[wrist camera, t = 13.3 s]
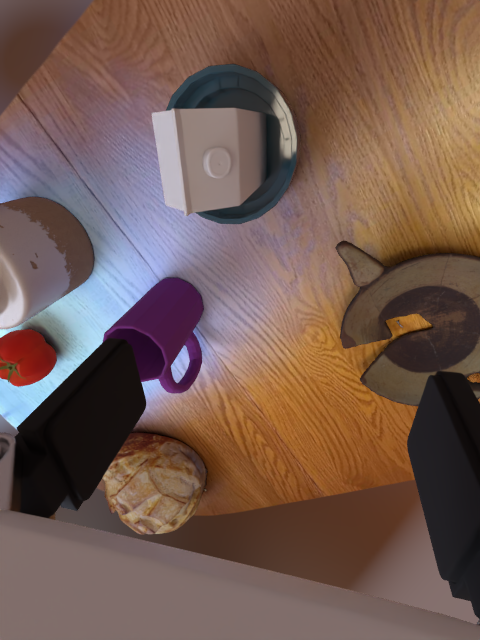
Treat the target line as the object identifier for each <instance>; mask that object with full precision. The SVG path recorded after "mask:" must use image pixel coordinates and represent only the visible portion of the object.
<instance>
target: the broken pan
mask: <svg viewBox="0 0 480 640" xmlns="http://www.w3.org/2000/svg"><path fill="white" fill-rule="evenodd" d="M336 250H337V252H338V254H339V256H340V257H341V258H342V259H343V260H344V262H345V263H346V265H347V267H348V269H349V271H350V275H351V277H352V279H353V282H354V284H355V285H356V286H358V287H360V290H359V292H358V293H357V294H356V296H355V297H354V298H353V300H352V301H351V303H350V304H349V306H348V308H347V310H346V312H345V315H344V318H343V321H342V326H341V334H340V338H341V341H342V346H343V348H345V349H346V348H351V347H354V346H358V345H361V344H368V343H371V342H376V341H380V340H386V339H390V338H391V337H392V333H391V331H390V329H389V327H388V326H387V323H386V322H385V321H386V320H388V319H391V318H395V317H399V316H407V315H410V314H416V313H417V314H420V315H421V316H422V317H423V318H424V319H425V320H426V321H428V322H429V323H431V324H432V325H433V328H432V329H429V330H423V331H418V332H413V333H410V334H405V335H404V336H401V337H400V338H397V339H395V340H394V341H393V342H392V343H390V344H389V345H388V346H387V347H386V348H385V349H384V351H382V352H381V353H380V354H379V355H378V356H377V358H376V359H375V360H374V361H373V362H372V363H371V364H370V366H369V367H368V368H367V369H366V371H365V372H364V373H363V375H362V376H361V378H360V381H361V382H362V384H364V385H365V386H367V387H368V388H369V389H370V390H371V391H373V392H375V393H376V394H377V395H380V396H383V397H385V398H387V399H389V400H391V401H394V402H397V403H402V404H406V405H413V406H419V403H420V400H421V397H422V394H423V391H424V388H425V385H426V382H427V379H428V377H429V376H430V375H435V374H436V373H437V371H447V372H457V373H462V374H463V375H464V376H465V378H466V379H467V377H468V376H470V375H471V374H474V373H480V257H477V256H473V255H467V254H457V253H436V254H428V255H422V256H418V257H414V258H411V259H408V260H405V261H402V262H400V263H398V264H396V265H394V266H392V267H387V266H384V265H383V264H382V263H381V262H379V261H378V260H377V259H375V258H373V257H372V256H370V255H369V254H367V253H365V252H364V251H363V250H361V249H360V248H358V247H356V246H355V245H353V244H352V243H349V242H347V241H341V242H340V243H338V244H337V246H336ZM397 323H398V324H399V320H398V321H397ZM399 325H400V324H399ZM400 326H401V325H400ZM401 327H402V326H401ZM467 381H468V383H469V385H470V387H471V388H472V390H473V392H474V394H475V396H476V397H477V399H479V398H480V383H477V382H474V383H473V382H470V381H469V380H468V379H467Z"/></svg>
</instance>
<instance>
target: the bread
mask: <svg viewBox="0 0 480 640" xmlns="http://www.w3.org/2000/svg"><path fill="white" fill-rule="evenodd" d="M207 472H208V471H207V469H205V466H204V463H203V461H202V460H201V458H200V457H199V456H198V454H197V453H196V452H194V450H193V449H192V448H190V447H189V446H187V445H185V444H184V443H182V442H180V441H178V440H175V439H172V438H169V437H164V436H159V435H157V434H148V433H131V434H130V435H129V436H128V438H127V439H126V441H125V443H124V444H123V446H122V447H121V449H120V450H119V452H118V454H117V455H116V457H115V458H114V460H113V462H112V463H111V465H110V466H109V468H108V470H107V471H106V473H105V474H104V476H103V479H104V481H105V485H106V490H105V498H106V500H107V501H108V506H109V510H110V512H111V514H113V513H114V512H115V511H117V512H118V514H119V517H120V519H121V521H122V522H124V523H125V524H126V525H128V526H129V527H130V528H131V529H133V530H134V531H135V532H137V533H138V534H146V533H147V534H154V533H155V534H158V533H159V534H161V533H168V532H171V531H174V530H176V529H178V528H179V527H180V526H182V525H183V524H184V523H185V522H186V521H188V519H189V518H190V517H191V516H193V515H194V513H195V512H196V510H197V507H198V505H199V502H200V499H201V496H202V493H203V490H205V491H207V490H206V489H204V487H205V486H206V479H207V478H206V477H207V476H206V473H207Z"/></svg>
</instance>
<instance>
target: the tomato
mask: <svg viewBox="0 0 480 640" xmlns="http://www.w3.org/2000/svg"><path fill="white" fill-rule="evenodd" d="M56 361H57V358H56V352H55V350H54V349H53V347H52V346H51V345H49V344H47V343H46V342H45V339H44V337H43V336H42V335H41V334H40V333H39V332H36V331H34V330H31V329H26V330H16V331H13V332H10V333H8V334H6V335H4V336H3V337H1V338H0V378H1V379H6V380H8V382H9V381H10V383H11V384H13V385H14V386H18V387H19V386H25V385H30V384H33V383H35V382H37V381H39V380H41V379H43V378H44V377H45V376H47V375H48V374H49V373H50V372H51V370H52V369H53V368H54V366H55V364H56Z"/></svg>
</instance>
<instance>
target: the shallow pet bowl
mask: <svg viewBox="0 0 480 640" xmlns="http://www.w3.org/2000/svg"><path fill="white" fill-rule="evenodd" d="M205 108H238V109H244V110H249V111H255V112H260V113H265V114H266V181H265V182H264V183H263V184H262V185H261V186H260V187H259V188H258V189H257V190H255V191H254V192H253V193H252V194H251V195H250V196H249V197H248V198H247V199H246V200H245V201H244V202H243V203H242V204H241V205H240V206H234V207H228V208H221V209H215V210H208V211H202V212H195V213H197V214H198V215H199V216H201V217H203V218H205V219H208V220H211V221H214V222H217V223H221V224H242V223H245V222H248V221H251V220H254V219H257V218H259V217H261V216H262V215H263V214H265V213H266V212H267V211H269V210H270V209H271V208H273V207H274V206H275V205H276V204H277V203H278V201H279V200H280V198H281V197H282V196H283V194H284V193H285V191H286V190H287V189H288V187H289V185H290V184H291V182H292V180H293V177H294V174H295V171H296V169H297V166H298V163H299V159H300V142H301V135H300V131H299V127H298V123H297V118H296V114H295V112H294V110H293V108H292V107H291V105H290V103H289V102H288V100H287V98H286V97H285V95H284V93H283V92H282V91H280V90H279V89H278V88H277V87H276V86H274V85H273V84H272V83H271V82H270V81H268V80H267V79H266V78H265V77H263V76H262V75H261V74H260V73H258V72H257V71H254V70H251V69H248V68H245V67H242V66H239V65H236V64H225V65H214V66H208V67H206V68H205V69H203V70H201V71H199V72H197V73H195V74H193V75H191V76H190V77H188V78H187V79H186V80H185V81H184V83H183V84H182V85H181V86H180V87H179V88H178V89H177V91H176V92H175V93H174V94H173V95H172V97H171V99H170V102H169V104H168V107H167V109H166V111H169V110H171V109H205Z"/></svg>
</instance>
